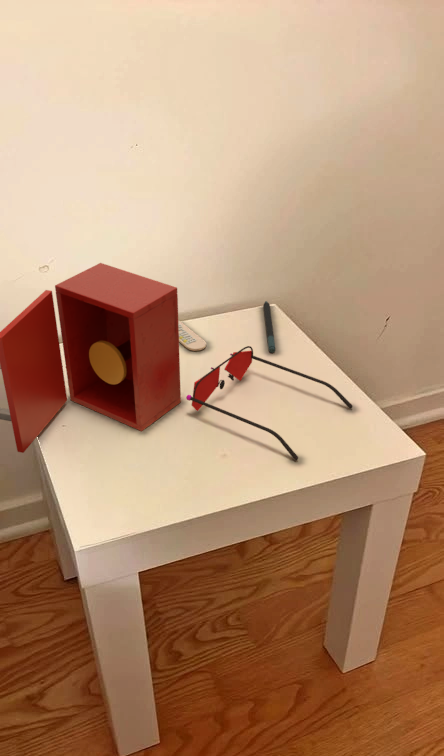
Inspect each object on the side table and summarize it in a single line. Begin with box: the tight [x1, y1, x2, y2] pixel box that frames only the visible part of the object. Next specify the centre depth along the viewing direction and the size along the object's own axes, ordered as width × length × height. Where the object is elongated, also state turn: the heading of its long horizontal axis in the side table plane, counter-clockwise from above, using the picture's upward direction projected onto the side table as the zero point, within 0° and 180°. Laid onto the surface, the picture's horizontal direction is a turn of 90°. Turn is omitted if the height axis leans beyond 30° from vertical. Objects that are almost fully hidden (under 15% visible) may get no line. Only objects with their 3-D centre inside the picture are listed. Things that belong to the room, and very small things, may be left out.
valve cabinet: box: [54, 262, 182, 432], centre depth 96 cm, size 8×12×16 cm, turn 55°
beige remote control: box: [178, 319, 207, 352], centre depth 114 cm, size 10×1×3 cm
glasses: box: [185, 345, 353, 461], centre depth 98 cm, size 14×16×5 cm
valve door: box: [0, 289, 68, 454], centre depth 92 cm, size 5×12×15 cm, turn 163°
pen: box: [262, 300, 276, 354], centre depth 117 cm, size 1×16×1 cm, turn 1°
